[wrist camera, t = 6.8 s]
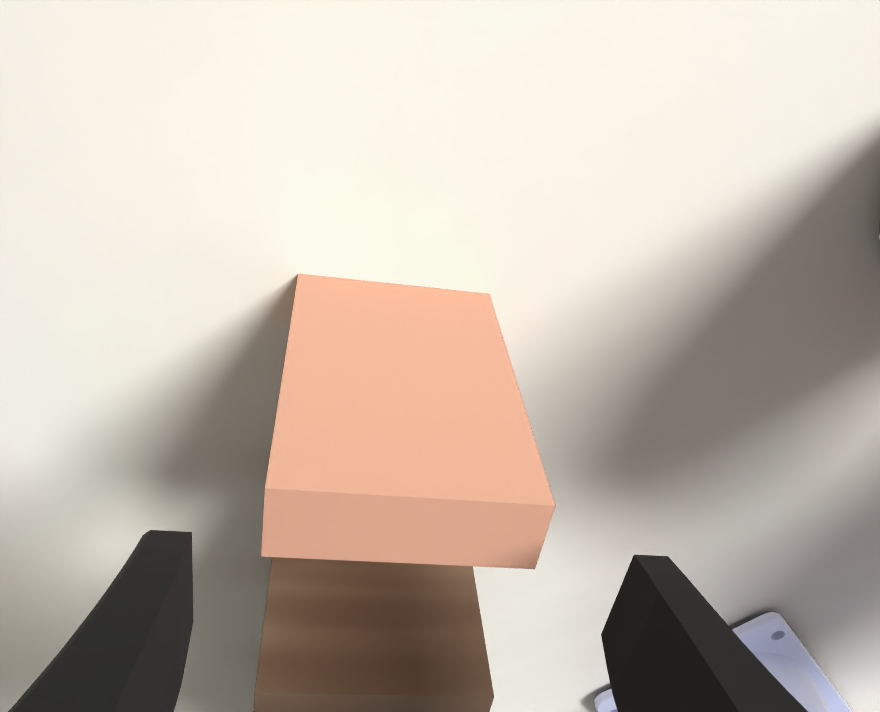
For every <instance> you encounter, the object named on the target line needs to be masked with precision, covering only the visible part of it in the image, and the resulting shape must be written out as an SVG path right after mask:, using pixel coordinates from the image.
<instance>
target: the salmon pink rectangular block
mask: <svg viewBox="0 0 880 712" xmlns="http://www.w3.org/2000/svg"><path fill="white" fill-rule="evenodd" d="M554 509H555V502H554V499H553V496H552V493H551V490H550V486H549V483H548V480H547V477H546V474H545V470H544V467H543V464H542V461H541V458H540V454H539V451H538V448H537V445H536V442H535V438H534V435H533V432H532V429H531V425H530V422H529V419H528V416H527V413H526V409H525V406H524V403H523V400H522V397H521V393H520V390H519V387H518V384H517V381H516V377H515V374H514V371H513V368H512V365H511V361H510V358H509V355H508V352H507V349H506V345H505V342H504V339H503V336H502V333H501V329H500V326H499V323H498V320H497V316H496V313H495V310H494V307H493V304H492V300H491V297H490V294H485V293H476V292H466V291H457V290H447V289H438V288H428V287H419V286H409V285H400V284H390V283H381V282H372V281H362V280H353V279H343V278H334V277H324V276H315V275H305V274H298V278H297V285H296V291H295V298H294V304H293V311H292V317H291V323H290V330H289V336H288V343H287V349H286V356H285V362H284V368H283V375H282V381H281V388H280V394H279V401H278V407H277V413H276V420H275V426H274V433H273V439H272V446H271V452H270V459H269V465H268V471H267V478H266V484H265V495H264V513H263V531H262V549H261V557H282V558H304V559H326V560H348V561H370V562H392V563H414V564H436V565H458V566H480V567H502V568H524V569H535V567H536V564H537V561H538V558H539V555H540V552H541V549H542V546H543V543H544V539H545V536H546V533H547V530H548V527H549V524H550V521H551V518H552V515H553V512H554Z"/></svg>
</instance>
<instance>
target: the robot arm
mask: <svg viewBox="0 0 880 712" xmlns="http://www.w3.org/2000/svg"><path fill="white" fill-rule="evenodd" d="M192 624H193V583H192V532H178V531H158V530H150V531H149V532H147V533H146V534H144V535H143V536H142V538H141V539H140V541H139V543H138V544H137V546H136V548H135V549H134V551H133V553H132V554H131V556H130V557H129V559H128V560H127V562H126V563H125V565H124V566H123V568H122V569H121V571H120V572H119V574H118V575H117V577H116V578H115V579H114V581H113V582H112V584H111V585H110V587H109V588H108V589H107V591H106V592H105V594H104V595H103V596H102V598H101V599H100V600H99V602H98V603H97V605H96V606H95V607H94V609H93V610H92V611H91V612H90V614H89V615H88V616H87V618H86V619H85V620H84V621H83V623H82V624H81V625H80V627H79V628H78V629H77V631H76V632H75V633H74V634H73V636H72V637H71V638H70V640H69V641H68V642H67V643H66V645H65V646H64V647H63V648H62V650H61V651H60V652H59V653H58V655H57V656H56V657H55V658H54V659H53V661H52V662H51V663H50V664H49V665H48V666H47V668H46V669H45V670H44V671H43V672H42V673H41V675H40V676H39V677H38V678H37V679H36V680H35V682H34V683H33V684H32V685H31V686H30V687H29V689H28V690H27V691H26V692H25V693H24V694H23V696H22V697H21V698H20V699H19V700H18V701H17V703H16V704H15V705H14V706H13V707H12V708H11V709H10V710H9V711H8V712H174V708H175V705H176V702H177V698H178V695H179V691H180V688H181V683H182V678H183V673H184V667H185V662H186V657H187V652H188V646H189V641H190V635H191V630H192ZM601 636H602V642H603V647H604V653H605V659H606V664H607V670H608V674H609V679H610V684H611V689H609V690H607V691H604V692H602V693H600V694H599V695H597V697H596V698H595V699H594V704H595V707H596V710H597V712H853V711H852V710H851V709H850V707H849V706H848V705H847V703H846V702H845V701H844V699H843V698H842V696H841V695H840V694H839V692H838V691H837V690H836V688H835V687H834V686H833V684H832V683H831V682H830V680H829V679H828V678H827V676H826V675H825V674H824V672H823V671H822V670H821V668H820V667H819V666H818V664H817V663H816V662H815V660H814V659H813V658H812V656H811V655H810V654H809V652H808V651H807V649H806V648H805V647H804V645H803V644H802V643H801V641H800V640H799V639H798V637H797V636H796V635H795V633H794V632H793V631H792V629H791V628H790V627H789V625H788V624H787V623H786V621H785V620H784V619H783V617H782V616H781V615H780V614H779V613H775V612H768V613H765V614H763V615H761V616H759V617H756V618H754V619H752V620H750V621H748V622H746V623H744V624H742V625H740V626H738V627H736V628H734V629H731V628H730V627H729V626H728V625H727V624H726V623H725V621H724V620H723V619H722V618H721V617H720V616H719V614H718V613H717V612H716V611H715V610H714V609H713V608H712V606H711V605H710V604H709V603H708V602H707V601H706V599H705V598H704V597H703V596H702V595H701V594H700V592H699V591H698V590H697V589H696V588H695V587H694V585H693V584H692V583H691V582H690V581H689V580H688V579H687V577H686V576H685V575H684V574H683V573H682V572H681V570H680V569H679V568H678V567H677V566H676V565H675V564H674V563H673V562H672V560H671V559H670V558H669V557H668V556H649V555H634V556H633V558H632V561H631V563H630V566H629V568H628V571H627V573H626V575H625V578H624V580H623V583H622V585H621V588H620V590H619V592H618V595H617V597H616V600H615V602H614V605H613V607H612V609H611V612H610V614H609V617H608V619H607V622H606V624H605V626H604V629H603V631H602V634H601Z"/></svg>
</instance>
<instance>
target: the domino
mask: <svg viewBox="0 0 880 712" xmlns="http://www.w3.org/2000/svg"><path fill="white" fill-rule="evenodd" d="M493 699H494V694H493V688H492V682H491V676H490V670H489V664H488V657H487V651H486V645H485V639H484V633H483V627H482V621H481V615H480V609H479V602H478V596H477V590H476V584H475V578H474V572H473V566H458V565H436V564H414V563H392V562H370V561H348V560H326V559H304V558H282V557H272V563H271V570H270V578H269V586H268V594H267V601H266V609H265V617H264V624H263V632H262V640H261V647H260V655H259V663H258V670H257V678H256V686H255V694H254V712H489V711H490V708H491V705H492V702H493Z"/></svg>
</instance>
